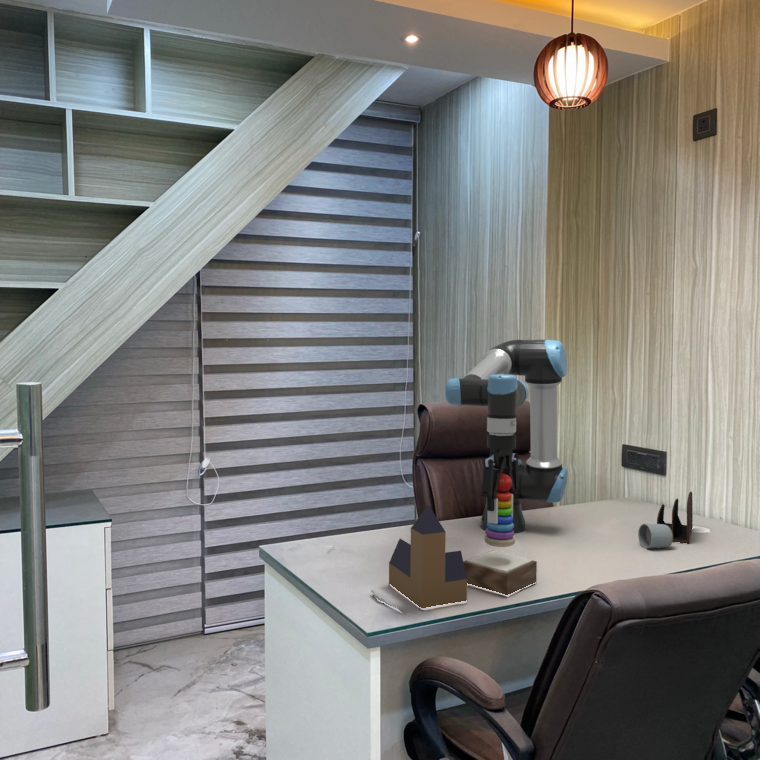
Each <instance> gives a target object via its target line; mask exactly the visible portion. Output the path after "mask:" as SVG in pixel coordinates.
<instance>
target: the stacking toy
mask: <svg viewBox="0 0 760 760" xmlns="http://www.w3.org/2000/svg"><path fill="white" fill-rule="evenodd" d="M511 486H512V480H511V478H510V477H509V476H508V475H507V474H504V473H502V474H501V475H500V480H499V485H498V490H497V495H496V498H497V499H498V524H494V523H489V522H487V527H488V528H487V529H486V530H485V536H484V538H483V539H484V542H485V543H486V544H487V545H489V546H491V547H495V548H507V547H512V546H513V545H514V544H515V542H516V539H515V537H514V535H515V533H514V531H513V530H512V529H513V528H514V524H513V523H512V521H513V516H512V515H511V514H512V512H513V510H512V508H511V505H512V502H511V501H510V499H511V493H510V492H508V491H509V490H510V488H511ZM492 494H493V493H492Z"/></svg>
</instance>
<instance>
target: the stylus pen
mask: <svg viewBox="0 0 760 760" xmlns="http://www.w3.org/2000/svg"><path fill="white" fill-rule="evenodd" d="M370 592H371V593H373V595H374V596H373V598H374V597H376V598H377V599H378V600H380V601H383V602H385V603H386V604H388V605H390V606H393V607H395V608H396V607H398V606H397V605H396V603H394V602H393V601H392V600H391V599H390V598H389V596H388V595H387V594H385V593H381V592H380V591H378V590H377V591H376V590H375V589H371V590H370Z"/></svg>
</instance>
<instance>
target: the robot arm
mask: <svg viewBox="0 0 760 760" xmlns="http://www.w3.org/2000/svg"><path fill="white" fill-rule="evenodd" d="M567 373H568V360H567V354H566V349H565V346H564V345H563V343H562V342H561V341H559V340H555V339H554V340H553V339H512V340H508V341H505V342H502V343H499V344H497V345H495V346H492V348H490V349H488V351H486V352H485V354H484V355H483V357H482V360H481V361H480V362H479V363H478V364H477V365H475V367H473V368H472V369H471V370H470V371H469V372H468V373H467V374H466V375H464V376H463V377H462V378H460V377H455V378H449V379H448V380H447V382H446V385H445V399H446V401H447V403H448V404H450V405H457V406H468V407H471V406H472V407H487V418H486V419H487V420H486V432H488V434H487V436H486V448H487V449H489V450H490V452H489V457H488V458H482V466H483V469H482V470H483V473H482V486H481V496H482V497H483V498H485V503H486V504H485V507H484V510H483V512H482V516H481V518H480V527H482V528H481V529H483V530H484V529H485V531H486V529H487V528H488V527H487V522H489V523H494V524H498V499H497V498H496V495H497V490H498V485H499V480H500V475H501V474H502V473H504V474H507V475H508V476H509V477H510V478H511V480H512V486H511V488H510V490H509V491H508V492H510V493H511V499H510V501H511V502H512V505H511V508H512V510H513V512H512V514H511V515H512V516H513V521H512V523H513V524H514V528H513V529H512V530H513V531H514V534H516V533H520V532H521V533H522V532H524V531H525V530H526V523H527V522H526V519H525V516H524V513H523V509H522V506H521V504H522V503H521V501H522V500H524V501H535V502H545V503H546V504H547V503H559V502H561V501H562V499H563V498H564V495H565V492H566V487H567V483H568V468H566V467H564V466H563V461H562V460H561V459H560V458H559V457H558V386H559V385H560V384H561V383H562V378H565V377H566V376H567ZM517 376H520V377H521V376H523V377H524V381H522V380H520V379H517V378H518V377H517ZM526 384H527V385H526ZM528 386H529V389H528ZM528 390H529V391H528ZM528 397H529V414H530V415H529V416H530V418H529V420H530V421H529V422H530V423H529V424H530V425H529V427H530V431H529V432H530V457H529V458H528V459H526V462H525V463H526V464H523V462H522V460H521V459H519V458H520V455H519V453H516V452H515V453H513V450H515V449H516V448H517V435H516V432H517V410H518V409H517V408H518V407H520V406H522V405H523V404H524V403H525V402H526V401H527V399H528ZM492 493H493V494H492Z"/></svg>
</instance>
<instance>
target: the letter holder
mask: <svg viewBox="0 0 760 760" xmlns="http://www.w3.org/2000/svg"><path fill="white" fill-rule="evenodd" d="M693 514H694V511H693V491H689V493H688V496H687V501H686V525H685V524H682V522H681V520H680V516H679V498H676V499H675V500H674V502H673V506H672V510H671V523H669V522H665V521H664V519H665V518H664V515H665V504H664V503H663V504H662V503H661V505H660V508H659V511H658V513H657V518H656V524H664V525H667V526H669V527H670V528H671V530H672V533H673V542H672V543H675V542H680V543H679V544H683V543H687V544H686V545H689V544H690V541H691V536H692V533H693V532H692V531H693V529H692V528H693V525H694V524H693V521H694V520H693V519H694V518H693Z"/></svg>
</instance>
